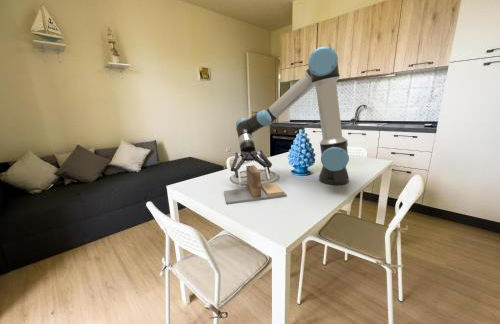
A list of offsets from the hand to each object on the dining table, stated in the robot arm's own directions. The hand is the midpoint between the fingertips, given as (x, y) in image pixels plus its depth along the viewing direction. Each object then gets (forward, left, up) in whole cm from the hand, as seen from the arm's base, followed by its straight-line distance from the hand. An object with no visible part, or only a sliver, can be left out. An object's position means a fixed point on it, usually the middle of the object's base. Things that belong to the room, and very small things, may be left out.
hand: (254, 181), depth 102 cm
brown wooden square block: (0, -2, -6) cm, 7 cm away
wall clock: (-6, -28, -8) cm, 30 cm away
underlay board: (0, -2, -7) cm, 8 cm away
